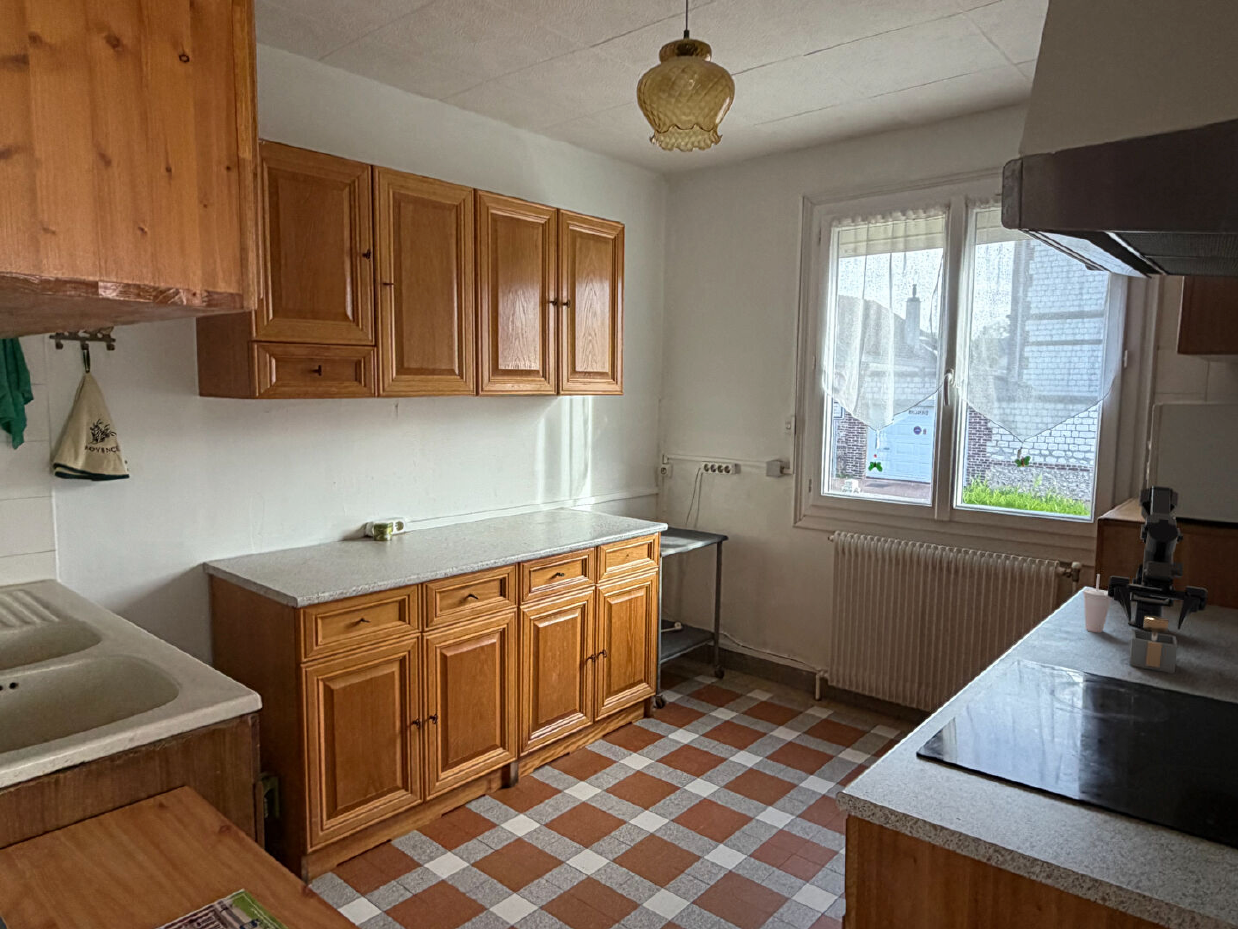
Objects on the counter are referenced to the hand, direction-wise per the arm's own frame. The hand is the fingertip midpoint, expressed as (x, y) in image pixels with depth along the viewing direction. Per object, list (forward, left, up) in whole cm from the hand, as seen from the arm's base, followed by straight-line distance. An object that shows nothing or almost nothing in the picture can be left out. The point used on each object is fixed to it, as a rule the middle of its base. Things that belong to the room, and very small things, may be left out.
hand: (1154, 624), depth 180 cm
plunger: (+6, +3, -6) cm, 9 cm away
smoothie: (-8, -16, -7) cm, 20 cm away
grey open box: (+6, +3, -7) cm, 10 cm away
